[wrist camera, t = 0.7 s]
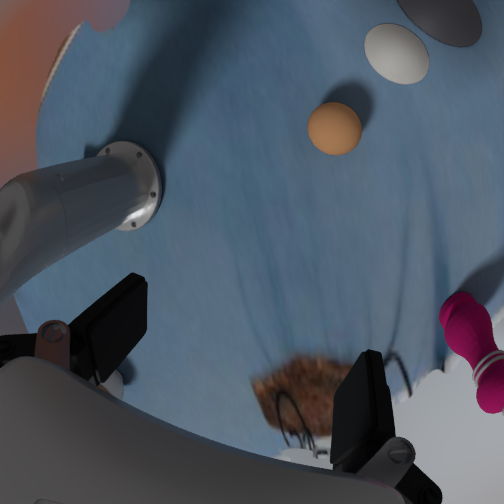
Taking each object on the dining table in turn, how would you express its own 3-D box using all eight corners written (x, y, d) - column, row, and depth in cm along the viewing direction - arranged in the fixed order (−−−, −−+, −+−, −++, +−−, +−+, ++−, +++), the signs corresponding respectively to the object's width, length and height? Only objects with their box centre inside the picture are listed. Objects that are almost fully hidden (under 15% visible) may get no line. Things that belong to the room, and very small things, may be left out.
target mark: (389, 20, 21) (390, 19, 21) (394, -45, 16) (394, -46, 15) (480, 64, 19) (481, 64, 19) (479, -5, 14) (479, -5, 14)
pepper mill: (427, 323, 34) (470, 437, 16) (453, 281, 31) (521, 387, 13) (458, 334, 34) (503, 436, 15) (483, 296, 30) (547, 391, 12)
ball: (303, 146, 29) (301, 147, 24) (313, 100, 27) (313, 91, 22) (351, 159, 29) (358, 163, 24) (362, 113, 27) (371, 108, 22)
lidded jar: (92, 370, 56) (71, 394, 48) (96, 347, 52) (71, 374, 43) (127, 396, 57) (109, 423, 48) (135, 377, 52) (114, 407, 44)
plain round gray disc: (359, 70, 25) (359, 70, 24) (368, 15, 21) (368, 15, 21) (424, 94, 24) (424, 94, 24) (431, 39, 20) (431, 39, 20)
